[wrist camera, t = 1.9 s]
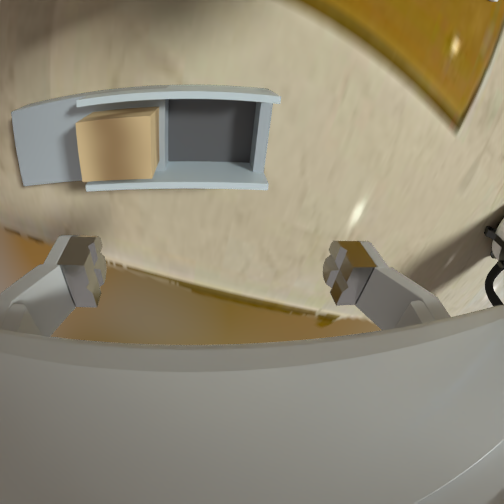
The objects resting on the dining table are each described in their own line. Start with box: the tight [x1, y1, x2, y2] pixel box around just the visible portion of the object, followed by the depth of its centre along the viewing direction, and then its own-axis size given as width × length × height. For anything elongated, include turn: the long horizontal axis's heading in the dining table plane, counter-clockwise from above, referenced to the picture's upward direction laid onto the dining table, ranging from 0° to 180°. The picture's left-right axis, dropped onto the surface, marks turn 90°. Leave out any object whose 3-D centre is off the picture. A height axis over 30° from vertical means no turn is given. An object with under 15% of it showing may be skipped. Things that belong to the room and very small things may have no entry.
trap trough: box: [11, 85, 281, 191], centre depth 22 cm, size 25×8×6 cm, turn 84°
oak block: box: [75, 107, 160, 182], centre depth 20 cm, size 6×5×4 cm
